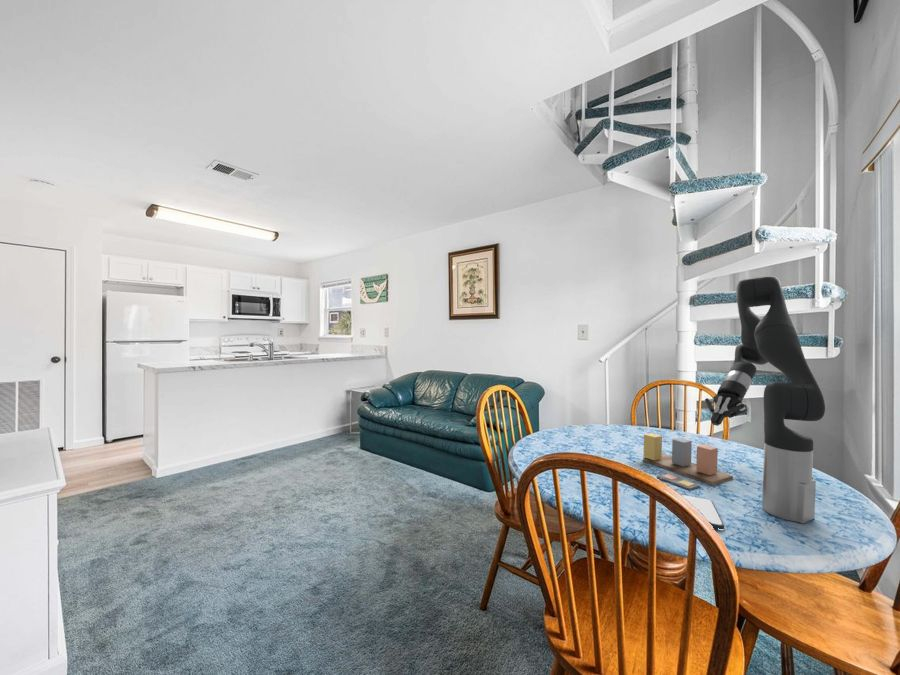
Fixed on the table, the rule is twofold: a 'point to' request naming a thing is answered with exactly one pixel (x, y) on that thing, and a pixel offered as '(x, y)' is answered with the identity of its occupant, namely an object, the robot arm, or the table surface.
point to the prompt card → (678, 481)
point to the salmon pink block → (706, 459)
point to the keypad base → (690, 470)
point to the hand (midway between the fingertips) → (714, 423)
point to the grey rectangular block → (681, 451)
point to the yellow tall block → (652, 446)
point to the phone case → (707, 510)
